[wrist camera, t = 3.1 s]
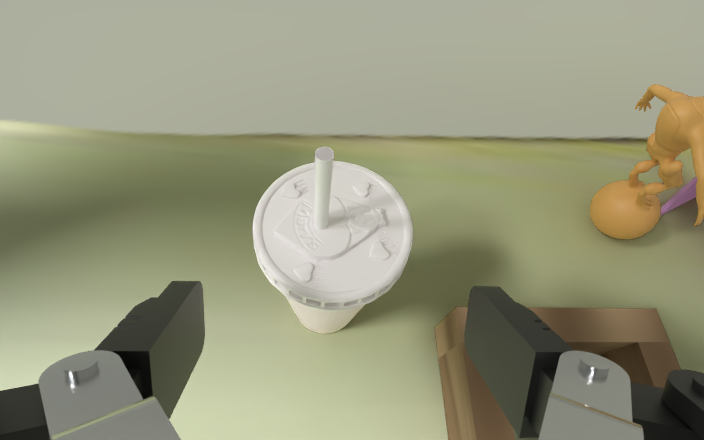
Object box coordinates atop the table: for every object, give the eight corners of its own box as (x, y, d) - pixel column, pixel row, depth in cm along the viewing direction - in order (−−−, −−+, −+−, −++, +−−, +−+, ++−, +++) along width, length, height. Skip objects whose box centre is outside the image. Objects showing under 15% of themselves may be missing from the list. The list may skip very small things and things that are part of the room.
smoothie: (264, 262, 25) (225, 84, 13) (364, 246, 26) (414, 70, 14) (277, 369, 22) (241, 267, 10) (390, 345, 23) (480, 230, 11)
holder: (464, 568, 18) (500, 595, 15) (434, 327, 24) (455, 307, 20) (684, 556, 19) (766, 578, 16) (607, 328, 25) (656, 308, 21)
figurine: (653, 279, 27) (868, 172, 17) (568, 277, 26) (735, 165, 16) (611, 178, 31) (763, 42, 21) (537, 174, 31) (655, 33, 20)
